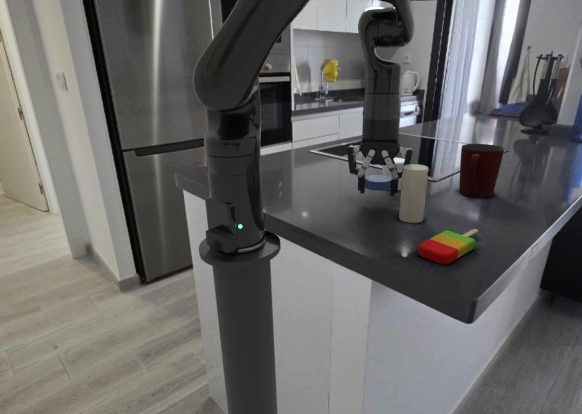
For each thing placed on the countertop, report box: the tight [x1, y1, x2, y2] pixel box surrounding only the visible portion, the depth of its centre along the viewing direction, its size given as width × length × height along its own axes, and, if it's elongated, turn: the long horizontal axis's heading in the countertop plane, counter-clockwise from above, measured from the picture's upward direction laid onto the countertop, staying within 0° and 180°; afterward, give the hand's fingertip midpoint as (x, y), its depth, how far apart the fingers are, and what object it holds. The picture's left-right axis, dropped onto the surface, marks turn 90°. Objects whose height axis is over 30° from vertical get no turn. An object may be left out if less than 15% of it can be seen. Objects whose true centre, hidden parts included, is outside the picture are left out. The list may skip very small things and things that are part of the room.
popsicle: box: [417, 228, 479, 265], centre depth 64 cm, size 6×15×2 cm, turn 131°
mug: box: [458, 143, 505, 199], centre depth 88 cm, size 12×9×11 cm
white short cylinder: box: [381, 156, 405, 191], centre depth 95 cm, size 7×7×7 cm
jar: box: [398, 163, 430, 224], centre depth 75 cm, size 5×5×11 cm
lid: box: [364, 174, 392, 192], centre depth 83 cm, size 6×6×2 cm
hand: (377, 193), depth 84 cm, fingers closed on lid, 6 cm apart
